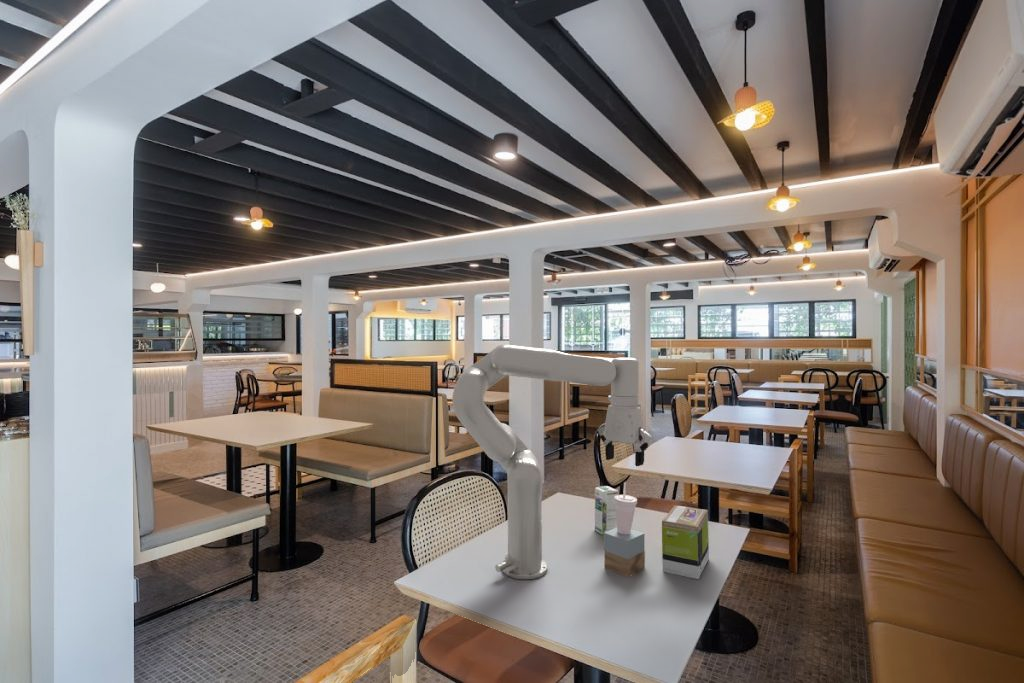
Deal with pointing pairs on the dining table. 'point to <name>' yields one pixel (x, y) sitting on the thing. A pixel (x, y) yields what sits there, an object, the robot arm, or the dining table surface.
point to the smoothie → (624, 512)
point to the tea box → (685, 541)
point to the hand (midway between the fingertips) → (624, 462)
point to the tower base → (625, 563)
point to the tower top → (624, 543)
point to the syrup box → (605, 509)
